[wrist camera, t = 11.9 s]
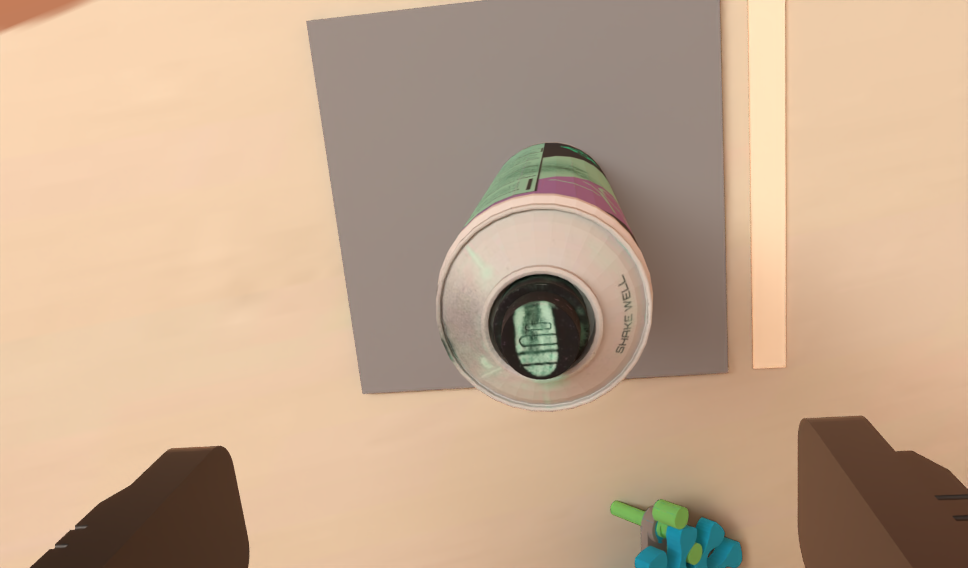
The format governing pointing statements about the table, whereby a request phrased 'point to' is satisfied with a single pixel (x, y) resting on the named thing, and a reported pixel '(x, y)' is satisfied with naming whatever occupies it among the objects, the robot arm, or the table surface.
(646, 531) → the gear
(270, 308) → the table surface
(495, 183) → the spray can
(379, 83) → the gray flat panel
